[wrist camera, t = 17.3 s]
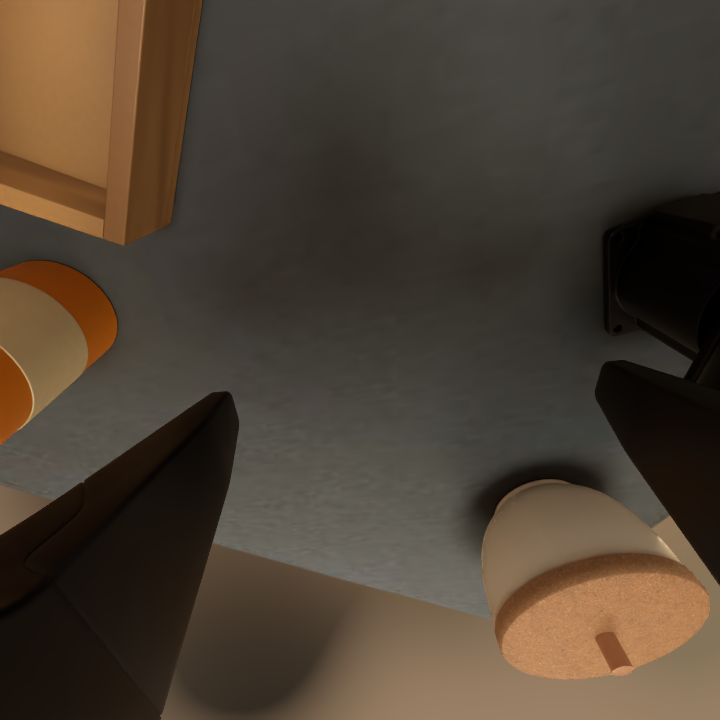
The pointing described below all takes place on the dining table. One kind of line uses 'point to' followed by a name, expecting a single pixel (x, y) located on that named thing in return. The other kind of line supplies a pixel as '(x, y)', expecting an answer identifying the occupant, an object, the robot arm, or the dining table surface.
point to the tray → (95, 110)
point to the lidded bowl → (583, 584)
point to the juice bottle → (47, 336)
